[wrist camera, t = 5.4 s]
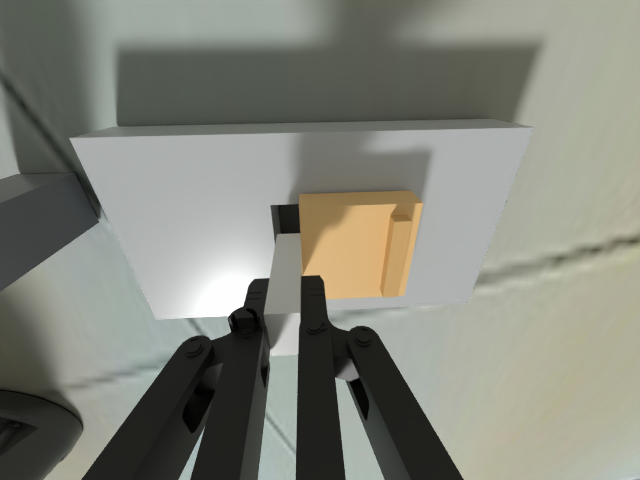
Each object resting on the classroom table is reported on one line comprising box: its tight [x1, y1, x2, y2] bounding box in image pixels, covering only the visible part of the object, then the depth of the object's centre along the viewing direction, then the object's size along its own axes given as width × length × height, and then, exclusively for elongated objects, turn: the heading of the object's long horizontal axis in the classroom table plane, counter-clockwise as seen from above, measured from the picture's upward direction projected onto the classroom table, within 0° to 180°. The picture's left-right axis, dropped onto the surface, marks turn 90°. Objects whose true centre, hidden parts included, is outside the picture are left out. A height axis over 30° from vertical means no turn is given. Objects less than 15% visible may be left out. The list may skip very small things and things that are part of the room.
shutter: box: [299, 190, 423, 299], centre depth 17 cm, size 7×7×3 cm
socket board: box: [69, 119, 534, 319], centre depth 20 cm, size 26×14×4 cm, turn 91°
